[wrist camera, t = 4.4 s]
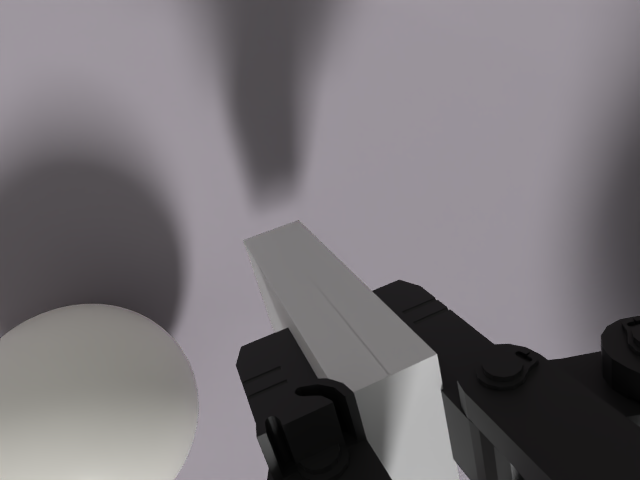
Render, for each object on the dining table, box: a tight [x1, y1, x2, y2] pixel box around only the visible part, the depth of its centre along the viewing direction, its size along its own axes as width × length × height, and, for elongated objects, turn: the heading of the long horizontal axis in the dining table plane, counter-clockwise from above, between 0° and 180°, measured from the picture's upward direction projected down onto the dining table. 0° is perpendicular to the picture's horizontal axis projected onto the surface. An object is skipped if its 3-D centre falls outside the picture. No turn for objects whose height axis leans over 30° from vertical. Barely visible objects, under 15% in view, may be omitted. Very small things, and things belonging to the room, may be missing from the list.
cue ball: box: [0, 304, 199, 480], centre depth 13 cm, size 6×6×6 cm
